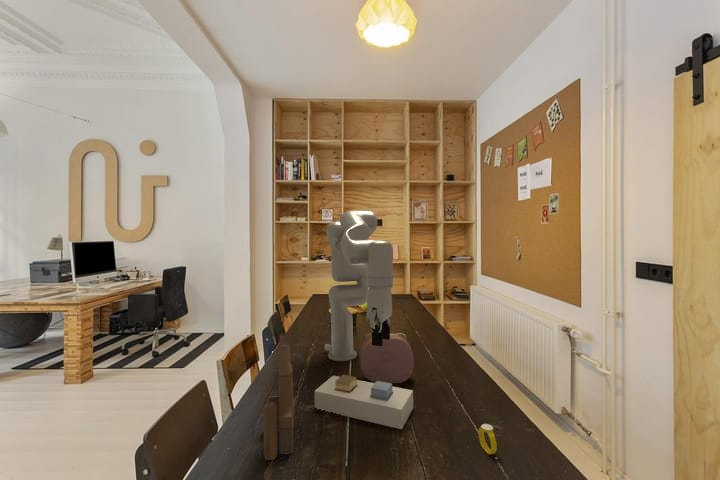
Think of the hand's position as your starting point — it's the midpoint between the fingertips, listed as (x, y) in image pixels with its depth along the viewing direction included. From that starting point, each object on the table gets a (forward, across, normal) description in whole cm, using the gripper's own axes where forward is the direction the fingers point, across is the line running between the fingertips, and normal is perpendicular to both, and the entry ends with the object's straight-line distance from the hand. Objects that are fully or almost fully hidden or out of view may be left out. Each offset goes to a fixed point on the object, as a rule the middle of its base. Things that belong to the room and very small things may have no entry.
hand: (381, 341), depth 98 cm
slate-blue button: (+16, 0, 0) cm, 16 cm away
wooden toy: (+22, +23, -20) cm, 37 cm away
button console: (+22, 0, -6) cm, 22 cm away
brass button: (+16, 0, -12) cm, 20 cm away
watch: (+22, +6, +30) cm, 38 cm away
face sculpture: (+22, -21, -6) cm, 31 cm away
